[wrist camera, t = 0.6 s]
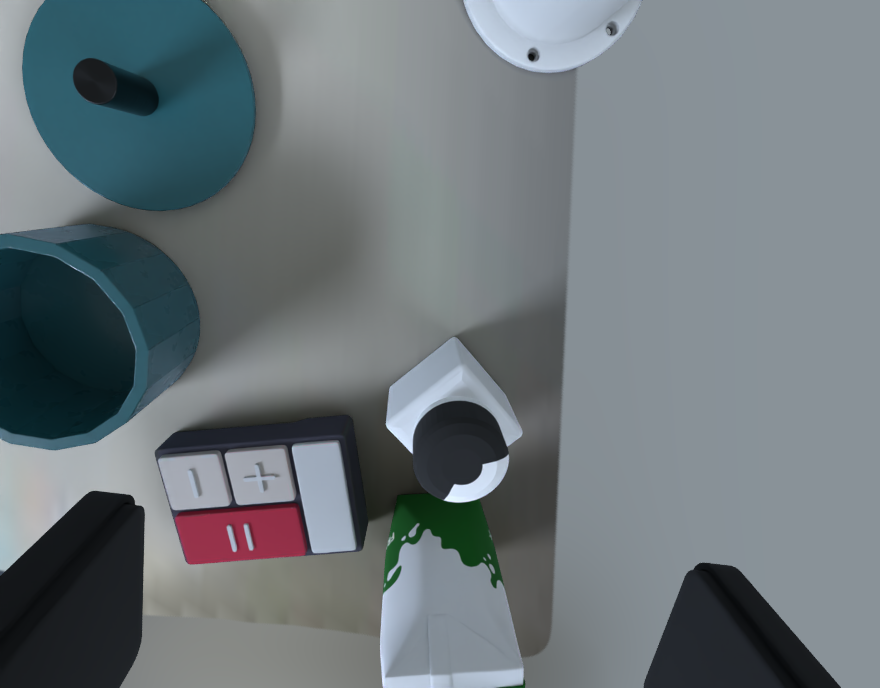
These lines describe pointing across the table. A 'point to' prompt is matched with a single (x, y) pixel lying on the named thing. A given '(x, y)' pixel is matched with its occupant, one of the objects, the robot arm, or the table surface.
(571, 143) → the table surface
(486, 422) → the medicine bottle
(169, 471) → the calculator
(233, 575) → the table surface
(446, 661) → the milk carton
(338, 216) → the table surface
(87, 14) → the lid
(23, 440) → the tin
